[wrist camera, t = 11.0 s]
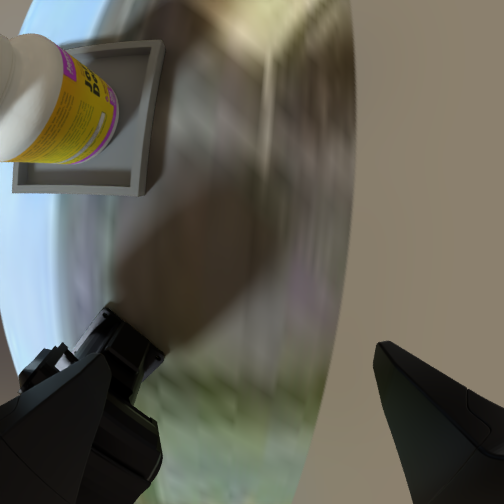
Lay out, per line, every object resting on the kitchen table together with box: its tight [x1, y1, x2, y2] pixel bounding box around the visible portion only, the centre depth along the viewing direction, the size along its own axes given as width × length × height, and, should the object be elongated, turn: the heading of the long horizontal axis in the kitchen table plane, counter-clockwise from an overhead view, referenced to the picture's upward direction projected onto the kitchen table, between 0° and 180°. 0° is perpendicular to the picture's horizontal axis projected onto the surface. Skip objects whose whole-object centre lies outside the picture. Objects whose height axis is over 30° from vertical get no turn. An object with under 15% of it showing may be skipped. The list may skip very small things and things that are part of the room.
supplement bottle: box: [0, 34, 119, 164], centre depth 11 cm, size 7×7×13 cm
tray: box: [12, 40, 166, 197], centre depth 17 cm, size 11×11×2 cm
